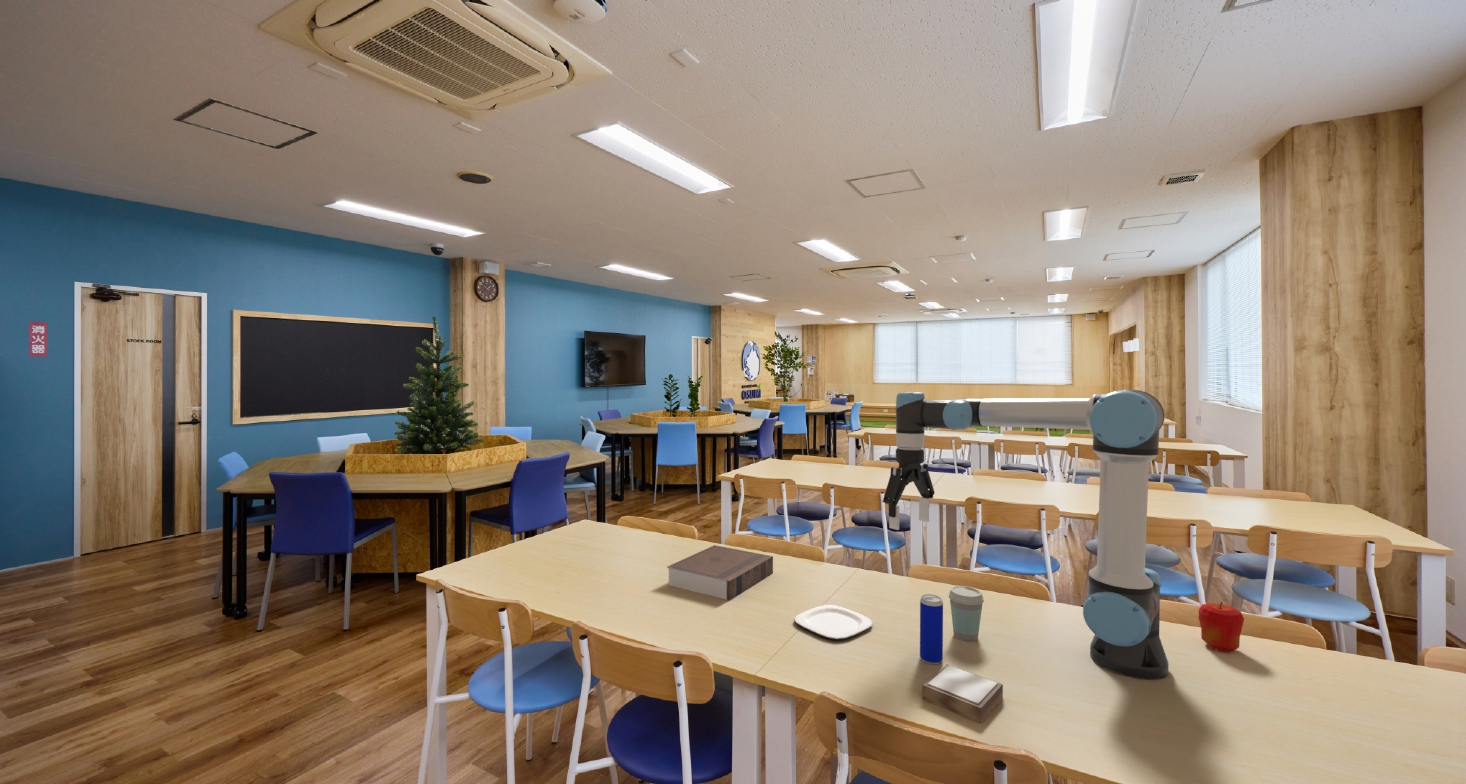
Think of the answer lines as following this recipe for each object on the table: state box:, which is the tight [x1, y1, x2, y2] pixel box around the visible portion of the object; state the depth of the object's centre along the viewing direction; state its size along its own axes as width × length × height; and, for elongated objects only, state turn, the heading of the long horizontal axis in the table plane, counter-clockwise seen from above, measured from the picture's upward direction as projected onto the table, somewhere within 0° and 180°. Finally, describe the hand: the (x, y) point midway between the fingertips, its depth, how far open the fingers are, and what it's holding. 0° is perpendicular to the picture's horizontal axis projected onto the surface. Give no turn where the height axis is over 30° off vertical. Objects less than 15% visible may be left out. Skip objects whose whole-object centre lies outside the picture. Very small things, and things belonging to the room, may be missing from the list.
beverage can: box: [919, 593, 944, 665], centre depth 134 cm, size 5×5×15 cm
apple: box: [1198, 601, 1245, 653], centre depth 140 cm, size 9×8×12 cm
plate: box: [793, 604, 874, 641], centre depth 154 cm, size 18×18×2 cm
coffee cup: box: [948, 585, 985, 643], centre depth 146 cm, size 8×9×12 cm
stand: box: [921, 664, 1004, 724], centre depth 118 cm, size 12×12×3 cm
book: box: [666, 544, 774, 601], centre depth 189 cm, size 24×28×6 cm
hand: (909, 524), depth 155 cm, fingers open, 13 cm apart
